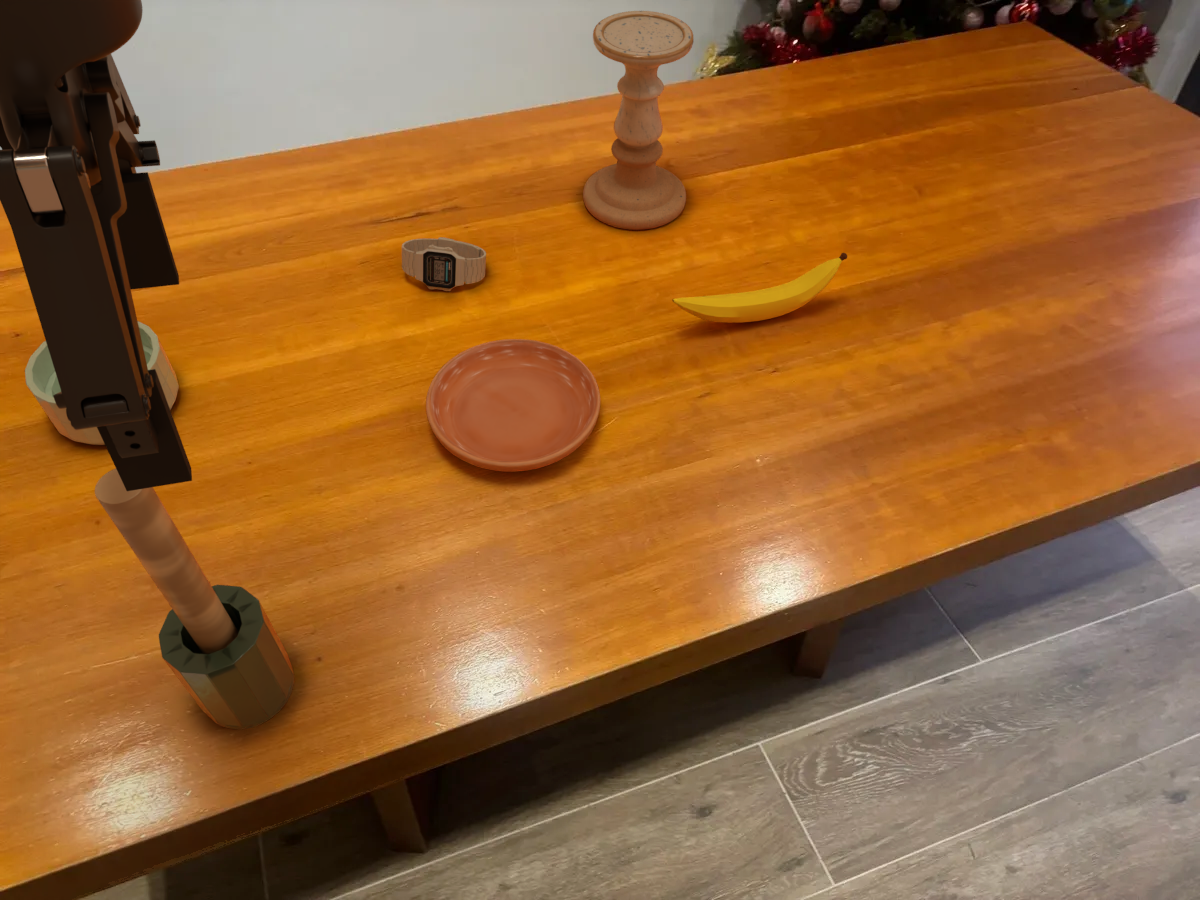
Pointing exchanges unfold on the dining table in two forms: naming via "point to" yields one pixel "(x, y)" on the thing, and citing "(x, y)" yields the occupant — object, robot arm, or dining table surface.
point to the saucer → (513, 404)
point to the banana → (763, 298)
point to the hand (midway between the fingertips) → (155, 373)
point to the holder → (232, 664)
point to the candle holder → (638, 122)
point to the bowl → (46, 385)
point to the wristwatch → (443, 262)
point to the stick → (167, 561)
